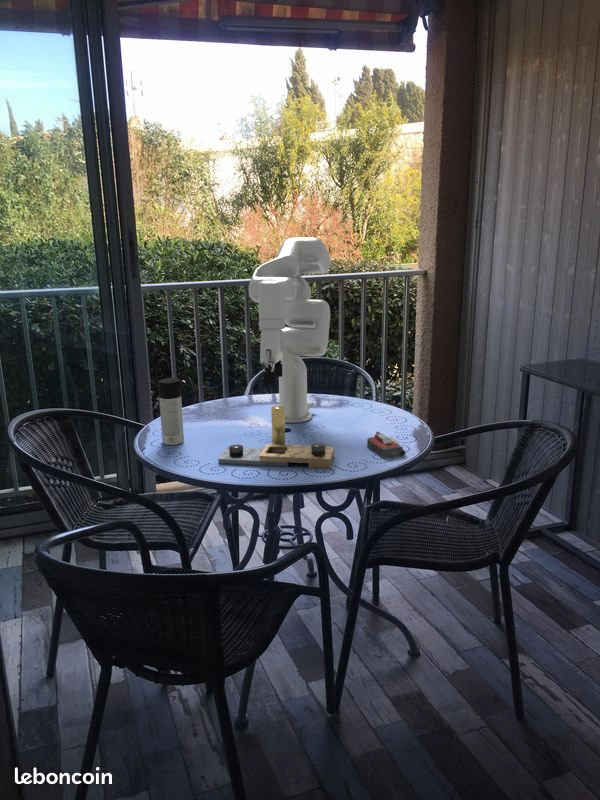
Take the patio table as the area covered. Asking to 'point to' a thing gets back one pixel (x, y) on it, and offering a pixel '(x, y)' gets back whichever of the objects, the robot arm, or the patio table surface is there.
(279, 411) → the pin
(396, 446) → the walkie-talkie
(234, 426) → the patio table surface
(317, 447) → the peg insertion board
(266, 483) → the patio table surface
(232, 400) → the patio table surface
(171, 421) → the spray can
